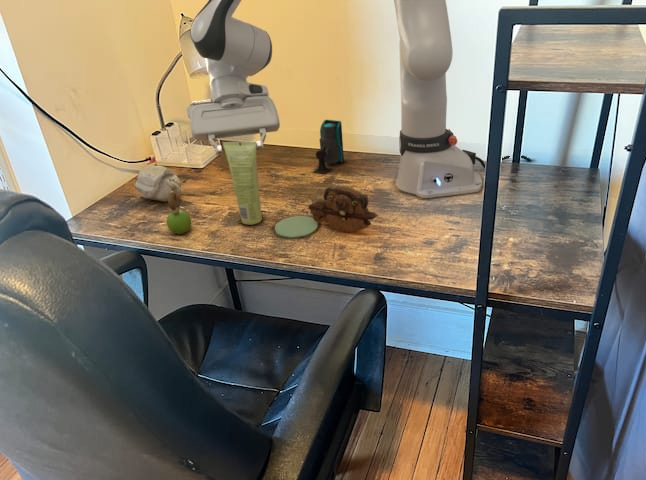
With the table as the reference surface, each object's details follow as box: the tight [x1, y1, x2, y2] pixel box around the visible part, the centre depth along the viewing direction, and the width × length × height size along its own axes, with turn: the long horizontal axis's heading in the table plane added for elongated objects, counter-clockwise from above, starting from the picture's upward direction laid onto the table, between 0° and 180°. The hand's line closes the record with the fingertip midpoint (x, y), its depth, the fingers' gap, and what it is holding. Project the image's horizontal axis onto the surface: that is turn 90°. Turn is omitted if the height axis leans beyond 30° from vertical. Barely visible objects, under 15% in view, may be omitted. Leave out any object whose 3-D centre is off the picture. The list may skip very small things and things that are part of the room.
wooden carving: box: [307, 185, 379, 233], centre depth 119 cm, size 16×5×10 cm, turn 70°
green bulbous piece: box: [166, 179, 192, 235], centre depth 122 cm, size 5×6×12 cm
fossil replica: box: [134, 163, 182, 203], centre depth 140 cm, size 12×8×10 cm
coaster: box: [274, 215, 319, 239], centre depth 124 cm, size 10×10×1 cm
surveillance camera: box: [313, 119, 345, 175], centre depth 151 cm, size 6×12×10 cm
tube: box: [222, 141, 263, 226], centre depth 123 cm, size 6×5×20 cm
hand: (240, 151), depth 123 cm, fingers open, 8 cm apart
